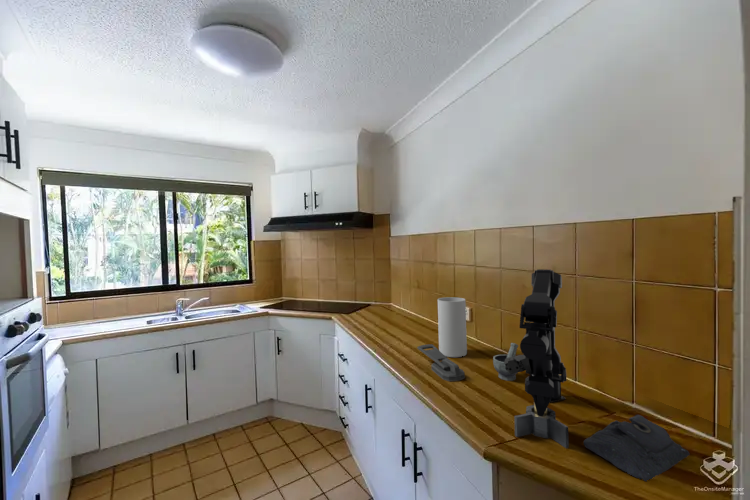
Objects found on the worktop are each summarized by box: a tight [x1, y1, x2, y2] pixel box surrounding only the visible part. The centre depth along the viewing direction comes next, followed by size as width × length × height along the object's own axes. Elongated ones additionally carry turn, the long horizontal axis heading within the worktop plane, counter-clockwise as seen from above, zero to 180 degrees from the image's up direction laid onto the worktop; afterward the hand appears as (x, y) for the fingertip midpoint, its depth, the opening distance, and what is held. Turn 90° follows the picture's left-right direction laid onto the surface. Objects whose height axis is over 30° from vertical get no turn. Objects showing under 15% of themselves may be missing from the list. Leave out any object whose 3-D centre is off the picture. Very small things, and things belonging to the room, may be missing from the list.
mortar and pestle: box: [492, 342, 519, 382], centre depth 120 cm, size 11×9×12 cm
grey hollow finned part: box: [513, 404, 570, 449], centre depth 82 cm, size 11×11×5 cm
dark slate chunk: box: [583, 414, 691, 482], centre depth 76 cm, size 15×22×5 cm
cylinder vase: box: [437, 296, 468, 358], centre depth 148 cm, size 12×12×25 cm
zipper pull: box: [417, 343, 466, 382], centre depth 129 cm, size 9×7×25 cm
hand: (540, 407), depth 84 cm, fingers open, 9 cm apart
